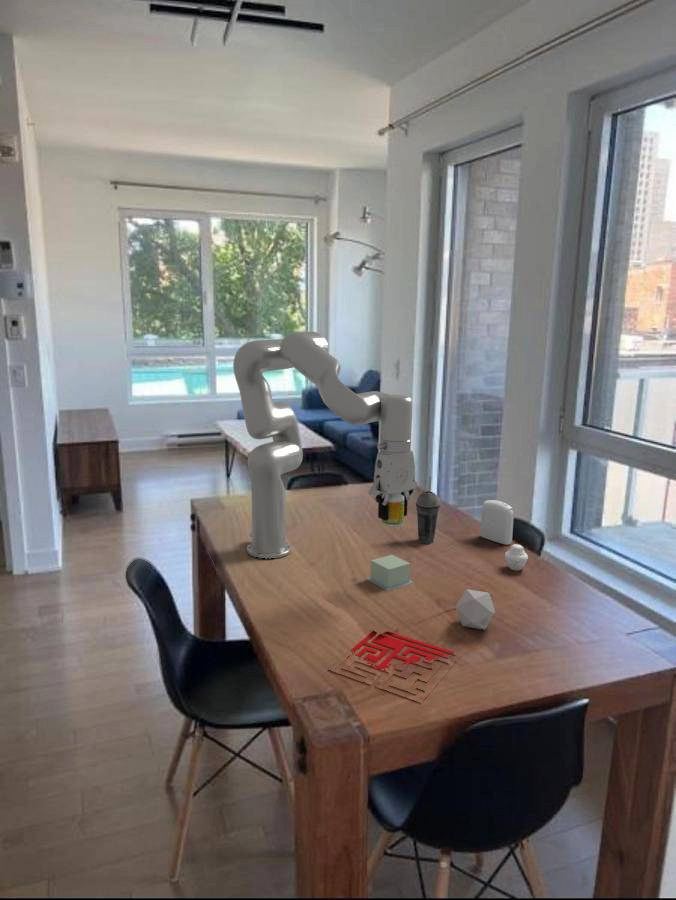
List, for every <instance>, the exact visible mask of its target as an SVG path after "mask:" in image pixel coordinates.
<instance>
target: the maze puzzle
mask: <svg viewBox="0 0 676 900" xmlns="http://www.w3.org/2000/svg"><path fill="white" fill-rule="evenodd" d="M376 634H378V632H377V631H375V630H372V631H370V633H369V634H367V636H365V637H364V638H363V639H361V641H360V642H358V643H357V644H356V645H354V646H353V647H352V648H351V649H350V650H351V652H352V653H353V651H354V653H356V652H357V651H358V650H359V649H361V647H363V646H365V647H363V648H362V649H361V650H360V651H358V653H357V654H355V655H354V656H358V657H360V656H361V655H362V656H364V655H365V654H366V653H367V654H366V656H364V657H363V659H364V658H366V659H368V660H367V662H368V663H367V664H371V665H370V666H372V667H373V665H375V666H374V667H376V668H378V669H384V671H386V670H385V668H388V667H389V666H390V665H391V666H392V663H390V661H392V660H393V659H397V658H399V659H398V660H400V659H402V660H401V661H403V660H405V661H404V662H403V664H401V665H403V666H404V664H406V665H407V663H408V664H409V662H412V663H413V662H415V663H416V662H419V661H420V659H422V657H424V656H426V657H424V659H425V660H428V661H430V660H432V659H433V660H434V659H436V658H438V657H439V658H440V657H441V656H444V655H446V656H447V655H448V653H451V654H453V653H454V652H455V651H453V650H449V649H446V648H444V647H440V646H436V645H433V644H430V643H427V642H424V641H420V640H417V639H414V638H410V637H408V636H404V635H400V634H398V633H394V632H391V631H385V632H382V633H379V634H378V635H377V636H376V637H375V635H376ZM373 637H375V638H373ZM372 638H373V639H372ZM371 639H372V641H371V643H370V642H368V641H370V640H371ZM362 645H363V646H362ZM406 646H407V648H406V649H404V648H405V647H406ZM357 649H358V650H357ZM390 649H391V650H393V651H392V652H391V653H390V654H389V655H388V656H386V654H388V652H390ZM403 649H404V651H402V650H403ZM356 650H357V651H356ZM438 650H439V651H438ZM355 651H356V652H355ZM366 651H367V652H366ZM378 651H380V653H378ZM401 651H402V653H401V655H400V654H399V653H400V652H401ZM441 651H443V652H441ZM365 652H366V653H365ZM445 652H447V653H446V654H445ZM354 653H353V654H354ZM377 653H378V655H375V654H377ZM410 653H411V655H409V654H410ZM431 653H432V654H431ZM435 654H436V655H435ZM451 654H450V655H451ZM407 655H409V657H407ZM438 655H440V656H438ZM362 656H361V657H362ZM384 656H386V658H385V659H383V661H382V662H380V663H379V664H376V663H375V662H377V663H378V662H379V661H380V660H381V659H382V658H384ZM361 657H360V658H361ZM394 657H395V658H394ZM435 657H436V658H435ZM444 657H445V656H444ZM444 657H443V658H444ZM439 658H438V659H439ZM366 659H365V660H366ZM424 659H423V661H424ZM369 660H371V661H369ZM378 660H379V661H378ZM372 661H374V662H373V663H372ZM412 663H411V664H412ZM387 664H388V665H389V666H388V665H387ZM409 665H410V664H409ZM391 666H390V667H391ZM396 666H397V665H394V667H396ZM372 667H371V668H372ZM390 667H389V668H390ZM389 668H388V669H389ZM378 669H377V670H378ZM384 671H383V672H384ZM379 672H380V673H382V671H379Z"/></svg>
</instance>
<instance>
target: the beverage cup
mask: <svg viewBox="0 0 676 900" xmlns="http://www.w3.org/2000/svg"><path fill="white" fill-rule="evenodd" d="M428 479H429V480H428V491H427V490H425V491H423V492H422V493H420V494H419V495H418V497H417V499H416V501H415V507H416V512H417V513H416V514H417V536H418V537H417V538H418V542H420V543H421V544H426V545H427V544H428V545H429V544H432V543H434V542H435V541H434V539H435V535H436V528H437V521H438V513H439V511H440V507H441V504H440V498H439V496H437V494H436V493H434V492H433V491H431V482H432V477H431V476H429V478H428Z"/></svg>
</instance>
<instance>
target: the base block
mask: <svg viewBox="0 0 676 900" xmlns="http://www.w3.org/2000/svg"><path fill="white" fill-rule="evenodd" d="M370 563H371V564H370V577H371V579H372V580H374V581H376V582H378V583H379V584H381V585H383V586H385V587H387V588H391V587H394V586H397V585H400V584H404V583H407V582H409V580H410V576H411V575H410V574H411V573H410V572H411V563H410V562H408V561H406V560H404V559H402V558H400V557H398V556H395V555H393V554H389V555H385V556H382V557H378V558H374V559H371V560H370Z"/></svg>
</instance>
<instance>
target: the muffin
mask: <svg viewBox="0 0 676 900" xmlns="http://www.w3.org/2000/svg"><path fill="white" fill-rule="evenodd" d="M504 558H505V561H506V564H507V565H508V568H509V569H510V570H512V571H521V570H522V569H523V568H524V566H525V565H526V563H527V562H528V559H529V556H528V553H526V552H525V548H524V546H522V545H521V544H518V543H516V544H515V543H514V544H512V545H510V548H509V549H508V550H507V551H506V552H505V554H504Z"/></svg>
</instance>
